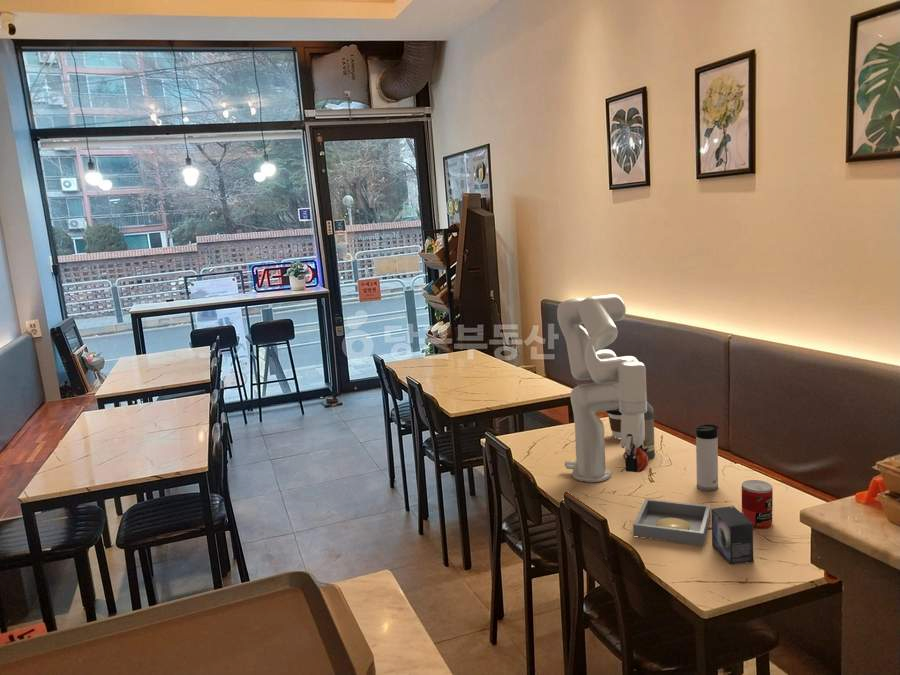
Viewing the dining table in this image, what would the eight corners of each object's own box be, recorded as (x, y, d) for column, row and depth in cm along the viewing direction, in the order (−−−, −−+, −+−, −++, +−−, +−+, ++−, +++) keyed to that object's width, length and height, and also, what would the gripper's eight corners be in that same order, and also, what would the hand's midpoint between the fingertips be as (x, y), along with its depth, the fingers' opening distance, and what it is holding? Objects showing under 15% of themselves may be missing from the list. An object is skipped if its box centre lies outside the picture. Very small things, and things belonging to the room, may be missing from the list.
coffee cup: (608, 441, 267) (606, 411, 265) (606, 432, 277) (605, 403, 275) (637, 441, 265) (636, 410, 263) (634, 432, 275) (633, 402, 273)
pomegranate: (630, 484, 193) (658, 462, 192) (612, 464, 194) (641, 441, 192) (628, 477, 201) (655, 456, 199) (611, 457, 201) (638, 436, 199)
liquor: (628, 450, 256) (626, 370, 251) (654, 450, 253) (652, 370, 248) (628, 458, 247) (625, 376, 242) (654, 459, 245) (652, 376, 240)
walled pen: (633, 536, 190) (633, 524, 189) (645, 509, 205) (645, 498, 205) (703, 545, 182) (703, 533, 181) (710, 517, 198) (710, 505, 197)
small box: (709, 545, 182) (709, 507, 180) (734, 542, 182) (733, 505, 180) (729, 565, 171) (729, 525, 170) (754, 562, 172) (754, 522, 170)
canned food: (759, 531, 187) (759, 493, 185) (735, 521, 194) (735, 484, 192) (779, 524, 190) (779, 486, 189) (754, 514, 197) (754, 477, 196)
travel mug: (720, 491, 215) (720, 428, 211) (698, 491, 216) (697, 429, 212) (717, 483, 221) (716, 422, 217) (695, 483, 222) (694, 422, 218)
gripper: (626, 397, 203) (628, 455, 206) (611, 413, 188) (614, 476, 191) (653, 398, 200) (654, 457, 203) (639, 415, 185) (641, 478, 187)
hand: (635, 466), depth 197 cm, fingers closed on pomegranate, 7 cm apart
